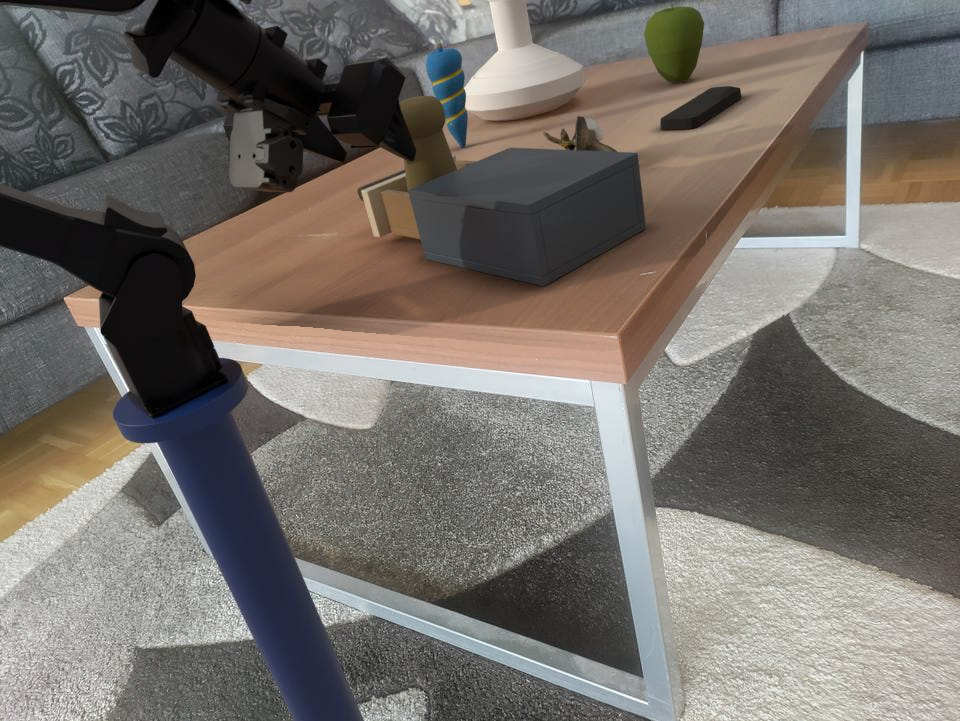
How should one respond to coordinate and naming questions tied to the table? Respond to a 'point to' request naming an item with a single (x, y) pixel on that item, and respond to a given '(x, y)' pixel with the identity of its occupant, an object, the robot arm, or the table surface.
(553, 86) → the candle holder
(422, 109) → the cork
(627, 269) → the table surface
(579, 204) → the cabinet
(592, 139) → the eagle figurine
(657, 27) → the apple
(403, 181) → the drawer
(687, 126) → the remote control
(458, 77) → the ornament
